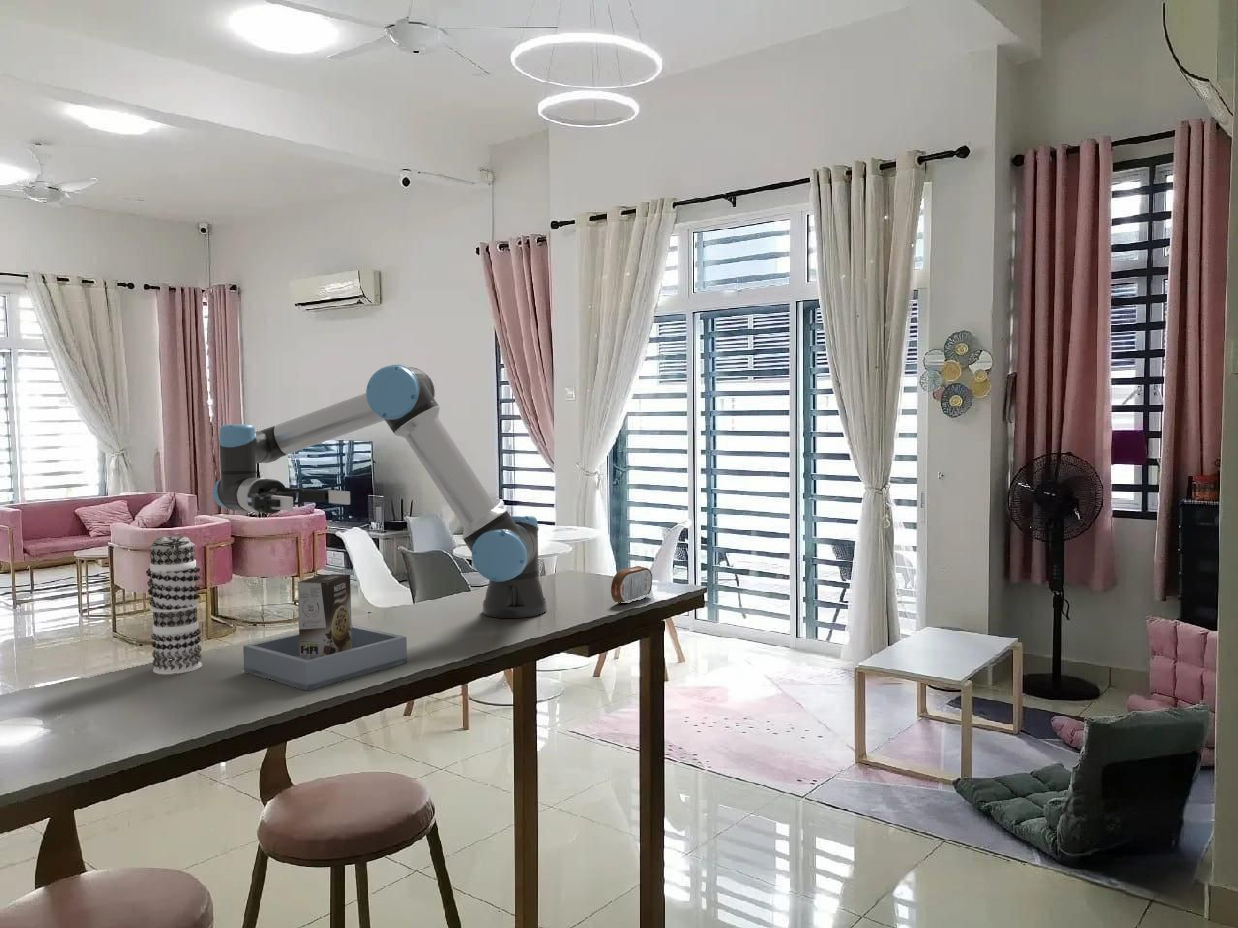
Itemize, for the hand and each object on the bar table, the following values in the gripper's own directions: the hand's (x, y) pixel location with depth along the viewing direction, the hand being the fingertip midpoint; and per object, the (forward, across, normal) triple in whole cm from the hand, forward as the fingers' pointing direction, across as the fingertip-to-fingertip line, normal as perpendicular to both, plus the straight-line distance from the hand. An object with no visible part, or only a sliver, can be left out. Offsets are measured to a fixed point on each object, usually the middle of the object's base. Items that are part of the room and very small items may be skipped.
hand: (321, 500), depth 193 cm
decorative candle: (-8, +27, -30) cm, 41 cm away
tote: (+15, +10, -30) cm, 35 cm away
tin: (+27, -71, -30) cm, 81 cm away
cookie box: (+15, +10, -29) cm, 34 cm away
